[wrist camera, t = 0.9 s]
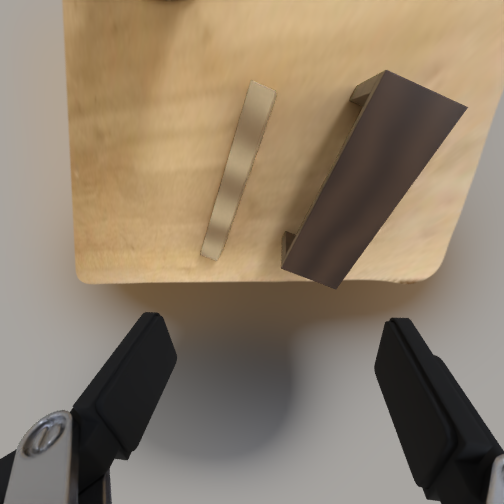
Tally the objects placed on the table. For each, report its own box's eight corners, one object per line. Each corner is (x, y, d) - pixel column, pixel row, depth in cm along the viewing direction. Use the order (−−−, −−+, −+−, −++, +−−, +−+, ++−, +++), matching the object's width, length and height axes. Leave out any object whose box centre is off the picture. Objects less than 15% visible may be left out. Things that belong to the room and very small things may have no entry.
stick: (223, 249, 40) (217, 261, 37) (207, 243, 40) (199, 254, 37) (277, 94, 29) (276, 90, 25) (254, 85, 28) (250, 79, 25)
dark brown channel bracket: (281, 239, 38) (281, 268, 30) (356, 85, 27) (386, 69, 19) (325, 256, 39) (336, 289, 31) (416, 112, 28) (468, 107, 20)
